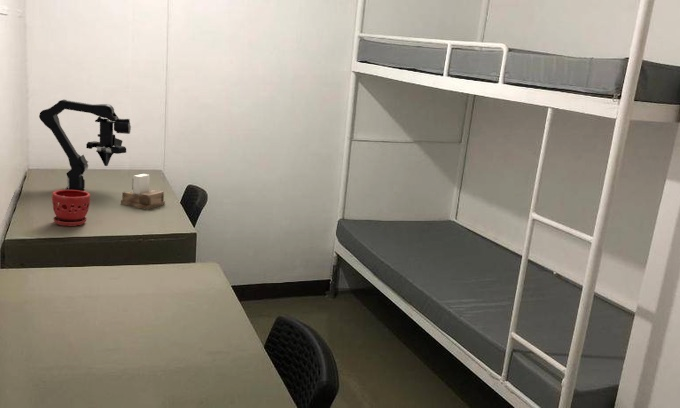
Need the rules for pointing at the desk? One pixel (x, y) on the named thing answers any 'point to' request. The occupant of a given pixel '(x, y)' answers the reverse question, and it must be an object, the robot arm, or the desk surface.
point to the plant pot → (70, 207)
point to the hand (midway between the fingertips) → (106, 165)
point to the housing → (143, 199)
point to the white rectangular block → (140, 183)
